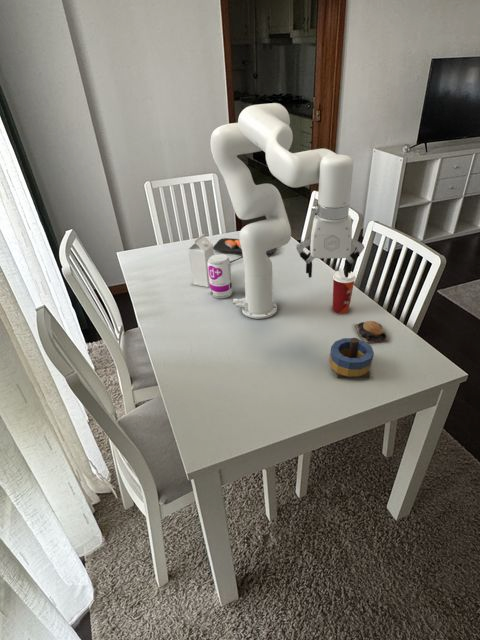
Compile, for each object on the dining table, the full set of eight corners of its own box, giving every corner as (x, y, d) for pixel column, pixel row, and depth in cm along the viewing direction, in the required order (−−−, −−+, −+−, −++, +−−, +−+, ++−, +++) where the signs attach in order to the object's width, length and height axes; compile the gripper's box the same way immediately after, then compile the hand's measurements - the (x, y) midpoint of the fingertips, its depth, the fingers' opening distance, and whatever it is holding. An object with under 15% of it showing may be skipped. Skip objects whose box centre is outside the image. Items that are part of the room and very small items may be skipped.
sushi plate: (279, 245, 195) (279, 237, 192) (265, 272, 171) (265, 264, 169) (221, 241, 200) (220, 233, 198) (199, 267, 177) (198, 259, 175)
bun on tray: (353, 326, 137) (354, 316, 135) (377, 323, 138) (379, 314, 136) (363, 344, 129) (365, 334, 127) (389, 341, 129) (391, 332, 127)
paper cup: (351, 316, 142) (355, 280, 134) (329, 314, 143) (332, 278, 135) (351, 305, 148) (356, 269, 140) (330, 303, 149) (333, 268, 141)
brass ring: (332, 376, 114) (333, 369, 112) (327, 352, 123) (328, 345, 122) (374, 376, 114) (375, 369, 112) (365, 351, 123) (367, 344, 122)
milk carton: (192, 284, 164) (186, 239, 153) (201, 277, 169) (196, 232, 158) (208, 287, 162) (203, 241, 150) (216, 279, 167) (212, 234, 156)
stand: (337, 378, 116) (340, 349, 110) (333, 358, 123) (336, 331, 117) (369, 378, 115) (374, 349, 110) (363, 358, 123) (368, 331, 117)
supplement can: (224, 301, 152) (220, 264, 144) (206, 296, 156) (202, 259, 147) (236, 292, 158) (234, 255, 149) (219, 287, 162) (216, 251, 153)
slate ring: (333, 369, 112) (334, 362, 111) (328, 345, 122) (329, 338, 120) (376, 369, 112) (377, 362, 111) (367, 344, 122) (368, 337, 120)
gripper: (297, 216, 97) (295, 281, 107) (371, 215, 96) (362, 281, 106) (296, 206, 103) (295, 269, 113) (366, 205, 102) (358, 269, 112)
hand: (327, 275), depth 110 cm, fingers open, 9 cm apart
